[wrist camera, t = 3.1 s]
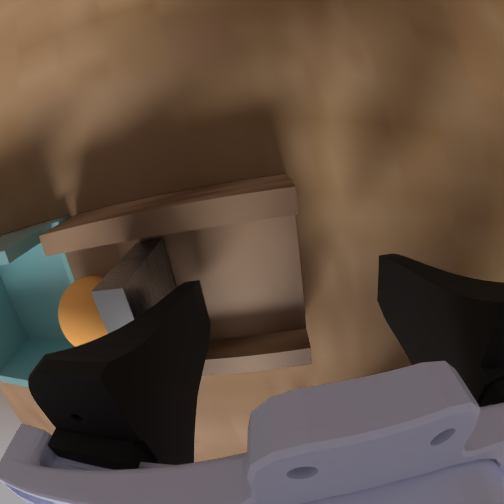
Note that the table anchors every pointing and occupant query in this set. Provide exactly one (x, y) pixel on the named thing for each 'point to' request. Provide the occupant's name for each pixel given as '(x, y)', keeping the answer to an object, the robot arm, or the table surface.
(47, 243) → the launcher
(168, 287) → the plunger
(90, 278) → the ball
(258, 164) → the table surface
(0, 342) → the teal open box
